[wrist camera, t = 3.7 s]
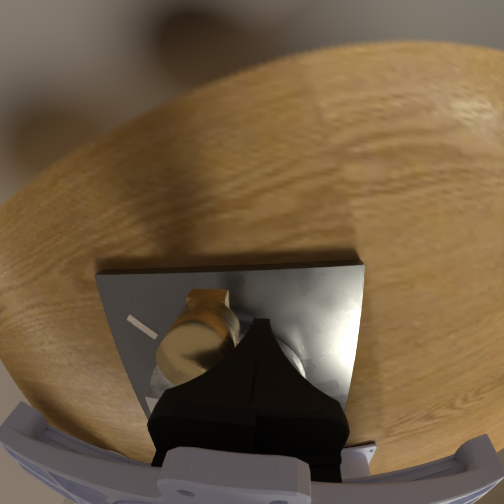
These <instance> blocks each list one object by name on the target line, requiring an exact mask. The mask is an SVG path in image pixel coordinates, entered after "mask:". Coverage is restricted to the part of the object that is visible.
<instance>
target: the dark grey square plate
mask: <svg viewBox="0 0 504 504" xmlns="http://www.w3.org/2000/svg"><path fill="white" fill-rule="evenodd" d="M364 270H365V265H364V263H363V262H362V261H361V260H344V261H325V262H305V263H284V264H262V265H238V266H213V267H186V268H155V269H120V270H101V271H100V272H98V273H97V274H95V278H96V282H97V286H98V289H99V293H100V297H101V300H102V304H103V307H104V310H105V314H106V317H107V320H108V323H109V326H110V329H111V332H112V335H113V338H114V341H115V344H116V346H117V349H118V352H119V354H120V357H121V360H122V362H123V365H124V367H125V370H126V372H127V375H128V377H129V379H130V382H131V384H132V387H133V389H134V391H135V393H136V396H137V398H138V400H139V402H140V404H141V406H142V408H143V411H144V413H145V415H146V417H147V419H148V420H149V418H150V416H151V412H150V409H149V407H148V404H147V402H146V399H145V395H146V393H147V391H148V389H149V388H151V377H152V374H153V371H154V369H155V367H156V365H157V362H156V352H157V349H158V347H159V345H160V344H161V342H162V340H163V339H164V337H165V335H166V334H167V332H168V330H169V329H170V327H171V325H172V324H173V322H174V320H175V319H176V317H177V316H178V314H179V312H180V311H181V309H182V308H183V307H184V306H185V305H186V304H187V301H186V297H187V295H188V294H189V292H190V291H191V289H226V290H229V306H230V309H231V310H232V311H233V312H234V314H235V315H236V317H237V319H238V321H239V324H240V325H245V326H249V327H251V325H252V323H253V320H254V318H264V319H270V324H271V328H272V331H273V333H274V335H275V337H276V338H278V339H279V340H281V341H282V342H283V343H285V344H286V345H287V346H288V347H289V348H290V349H292V350H293V352H294V353H295V354H296V355H297V357H298V358H299V360H300V362H301V363H302V366H303V368H304V371H305V378H306V379H307V380H308V381H309V382H310V383H311V384H312V385H313V386H315V387H316V388H318V389H319V390H320V391H322V392H323V393H325V394H327V395H328V396H330V397H332V398H333V399H335V400H337V401H339V403H340V405H341V407H342V409H343V411H345V406H346V402H347V397H348V392H349V387H350V382H351V376H352V370H353V365H354V359H355V352H356V346H357V339H358V331H359V323H360V315H361V305H362V295H363V284H364Z"/></svg>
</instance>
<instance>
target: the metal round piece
mask: <svg viewBox="0 0 504 504" xmlns="http://www.w3.org/2000/svg"><path fill="white" fill-rule="evenodd" d="M186 301H187V304H186V305H185V306H184V307H183V308H182V309H181V311H180V312H179V314H178V316H177V317H176V319H175V320H174V322H173V324H172V325H171V327H170V329H169V330H168V332H167V334H166V335H165V337H164V339H163V340H162V342H161V344H160V345H159V347H158V349H157V352H156V362H157V365H156V367H155V369H154V371H153V374H152V377H151V388H149V389H148V391H147V393H146V395H145V399H146V402H147V404H148V407H149V409H150V412H151V413H152V411H153V409H154V407H155V405H156V403H157V402H158V400H159V399H160V397H161V396H162V394H163V393H164V391H165V390H167V389H170V388H172V387H175V386H178V385H180V384H183V383H186V382H188V381H190V380H192V379H194V378H196V377H198V376H200V375H202V374H203V373H205V372H206V371H208V370H209V369H211V368H212V367H213V366H215V365H216V364H217V363H219V362H220V361H221V360H222V359H223V358H225V357H226V356H227V355H228V354H229V353H230V352H231V351H232V350H233V349H234V347H235V346H236V345H237V344H238V343H239V342H240V341H241V339H242V338H243V337H244V335H245V334H246V333H247V331H248V330H249V328H250V327H249V326H245V325H240V324H239V321H238V319H237V317H236V315H235V314H234V312H233V311H232V310H231V309H230V306H229V290H226V289H191V291H190V292H189V294H188V295H187V297H186ZM275 338H276V337H275ZM276 340H277V342H278V343H279V345H280V347H281V349H282V350H283V352H284V354H285V355H286V357H287V358H288V359H289V361H290V362H291V363H292V365H293V366H294V367H295V368H296V369H297V370H298V372H299V373H300V374H301V375H302V376H303V377H304V378H305V371H304V368H303V366H302V363H301V362H300V360H299V358H298V357H297V355H296V354H295V353H294V352H293V350H292V349H290V348H289V347H288V346H287V345H286V344H285V343H283V342H282V341H281V340H279V339H278V338H276ZM305 379H306V378H305Z"/></svg>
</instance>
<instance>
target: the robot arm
mask: <svg viewBox="0 0 504 504" xmlns="http://www.w3.org/2000/svg"><path fill="white" fill-rule="evenodd" d="M147 427H148V431H149V434H150V436H151V438H152V441H153V443H154V446H155V448H156V453H155V456H154V458H153V461H152V463H151V464H148V463H145V462H141V461H138V460H134V459H131V458H128V457H125V456H122V455H119V454H116V453H113V452H110V451H107V450H105V449H102V448H99V447H97V446H94V445H92V444H89V443H87V442H85V441H82V440H80V439H78V438H75V437H73V436H71V435H69V434H67V433H64V432H62V431H60V430H58V429H56V428H54V427H52V426H50V425H48V422H47V421H46V419H45V417H44V416H43V415H42V414H41V413H40V412H39V411H38V410H36V409H35V408H33V407H31V406H29V405H27V404H26V403H24V402H20V403H19V404H18V405H17V407H16V408H15V409H14V410H13V411H12V413H11V414H10V415H9V416H8V417H7V419H6V420H5V421H4V422H3V424H2V425H1V426H0V445H1V446H2V447H3V448H4V450H5V451H6V452H7V453H8V454H9V455H10V456H11V457H12V458H13V459H14V461H15V462H16V463H17V464H18V465H19V466H20V467H21V468H22V469H23V470H25V471H26V472H28V473H29V474H30V475H32V476H33V477H35V478H37V479H38V480H39V481H41V482H42V483H44V484H45V485H47V486H48V487H50V488H52V489H53V490H55V491H56V492H58V493H60V494H61V495H63V496H65V497H66V498H68V499H70V500H71V501H73V502H75V503H77V504H473V503H474V502H476V501H477V500H478V499H479V498H481V497H482V496H483V495H485V494H486V493H487V492H488V491H489V490H490V489H492V488H493V487H494V486H495V485H496V484H497V483H499V482H500V481H501V480H502V479H503V478H504V467H503V465H502V463H501V461H500V459H499V457H498V455H497V453H496V451H495V449H494V447H493V445H492V443H491V441H490V439H489V437H488V435H487V434H483V435H481V436H478V437H476V438H473V439H471V440H468V441H467V442H465V443H464V444H462V445H461V446H460V447H459V448H458V450H457V451H456V452H455V454H453V455H450V456H447V457H444V458H441V459H438V460H435V461H432V462H428V463H425V464H421V465H418V466H414V467H410V468H406V469H402V470H397V471H392V472H388V473H382V474H377V475H371V474H370V470H369V465H368V464H369V462H370V460H371V458H372V456H373V454H374V452H375V450H376V448H377V445H376V444H369V445H363V446H357V447H351V448H343V447H344V445H345V443H346V441H347V439H348V437H349V433H350V431H349V425H348V421H347V418H346V416H345V413H344V411H343V409H342V407H341V405H340V403H339V401H337V400H335V399H333V398H332V397H330V396H328V395H327V394H325V393H323V392H322V391H320V390H319V389H318V388H316V387H315V386H313V385H312V384H311V383H310V382H309V381H308V380H307V379H305V378H304V377H303V376H302V375H301V374H300V373H299V372H298V370H297V369H296V368H295V367H294V366H293V365H292V363H291V362H290V361H289V359H288V358H287V357H286V355H285V354H284V352H283V350H282V349H281V347H280V345H279V343H278V342H277V340H276V338H275V335H274V333H273V331H272V328H271V324H270V319H264V318H254V320H253V323H252V325H251V327H250V328H249V330H248V331H247V333H246V334H245V335H244V337H243V338H242V339H241V341H240V342H239V343H238V344H237V345H236V346H235V347H234V349H233V350H232V351H231V352H230V353H229V354H228V355H227V356H226V357H225V358H223V359H222V360H221V361H220V362H219V363H217V364H216V365H215V366H213V367H212V368H211V369H209V370H208V371H206V372H205V373H203V374H202V375H200V376H198V377H196V378H194V379H192V380H190V381H188V382H186V383H183V384H180V385H178V386H175V387H172V388H170V389H167V390H165V391H164V393H163V394H162V396H161V397H160V399H159V400H158V402H157V403H156V405H155V407H154V409H153V411H152V413H151V416H150V418H149V420H148V423H147Z"/></svg>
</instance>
